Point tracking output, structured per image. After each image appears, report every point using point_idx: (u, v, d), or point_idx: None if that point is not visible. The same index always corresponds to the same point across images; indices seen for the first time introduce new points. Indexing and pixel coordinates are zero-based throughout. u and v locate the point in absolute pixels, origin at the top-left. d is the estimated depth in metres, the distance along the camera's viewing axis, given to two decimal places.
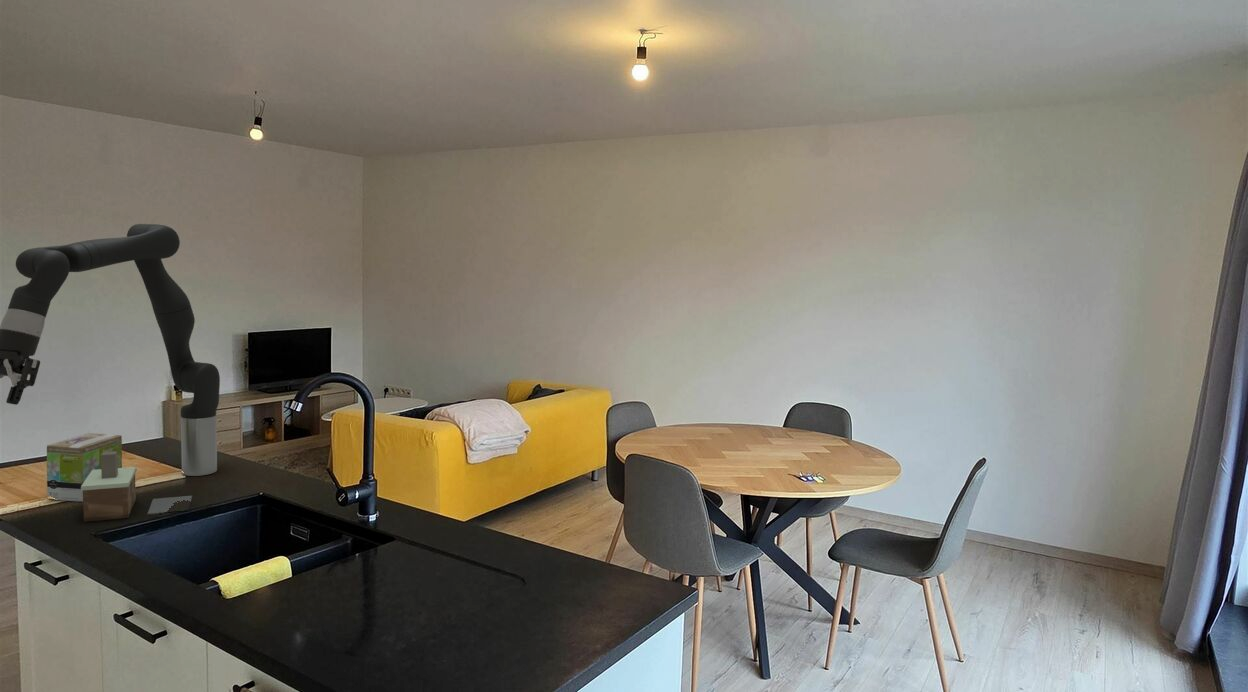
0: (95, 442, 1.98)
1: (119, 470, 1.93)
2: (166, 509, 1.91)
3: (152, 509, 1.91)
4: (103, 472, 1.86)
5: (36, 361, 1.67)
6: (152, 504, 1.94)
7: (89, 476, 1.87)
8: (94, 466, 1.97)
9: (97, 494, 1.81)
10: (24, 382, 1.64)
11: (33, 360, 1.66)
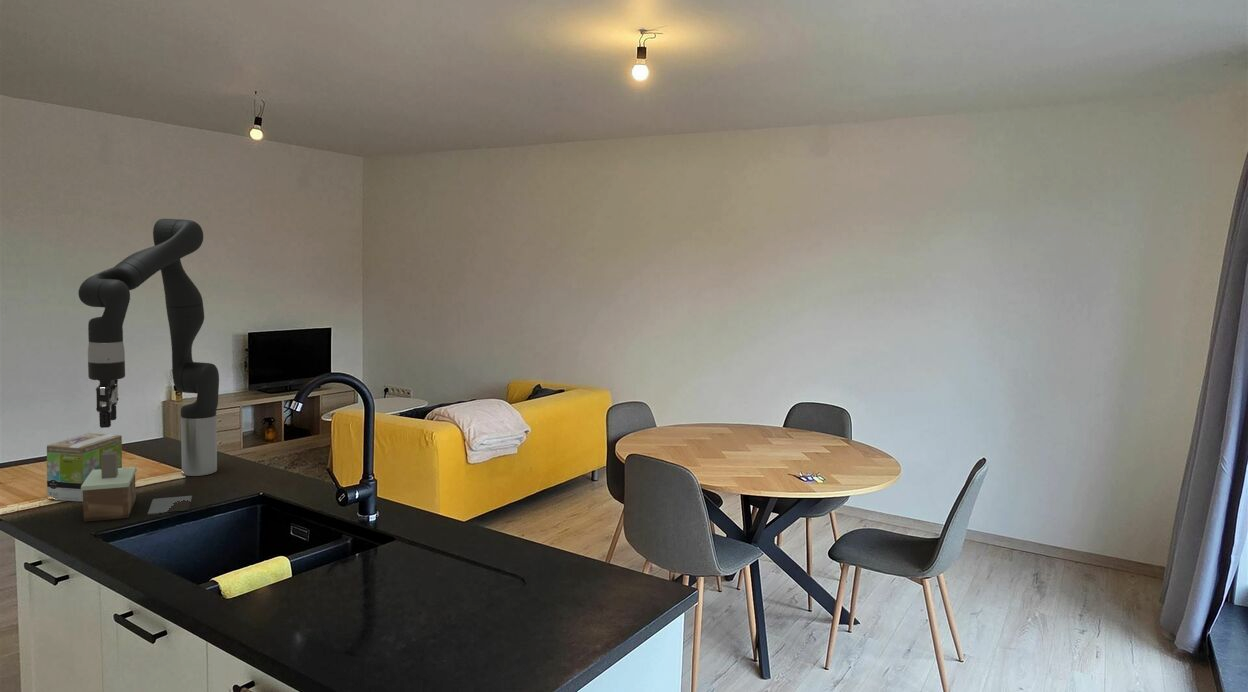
0: (95, 442, 1.98)
1: (119, 470, 1.93)
2: (166, 509, 1.91)
3: (152, 509, 1.91)
4: (103, 472, 1.86)
5: (105, 388, 1.80)
6: (152, 504, 1.94)
7: (89, 476, 1.87)
8: (94, 466, 1.97)
9: (97, 494, 1.81)
10: (97, 410, 1.79)
11: (100, 388, 1.79)
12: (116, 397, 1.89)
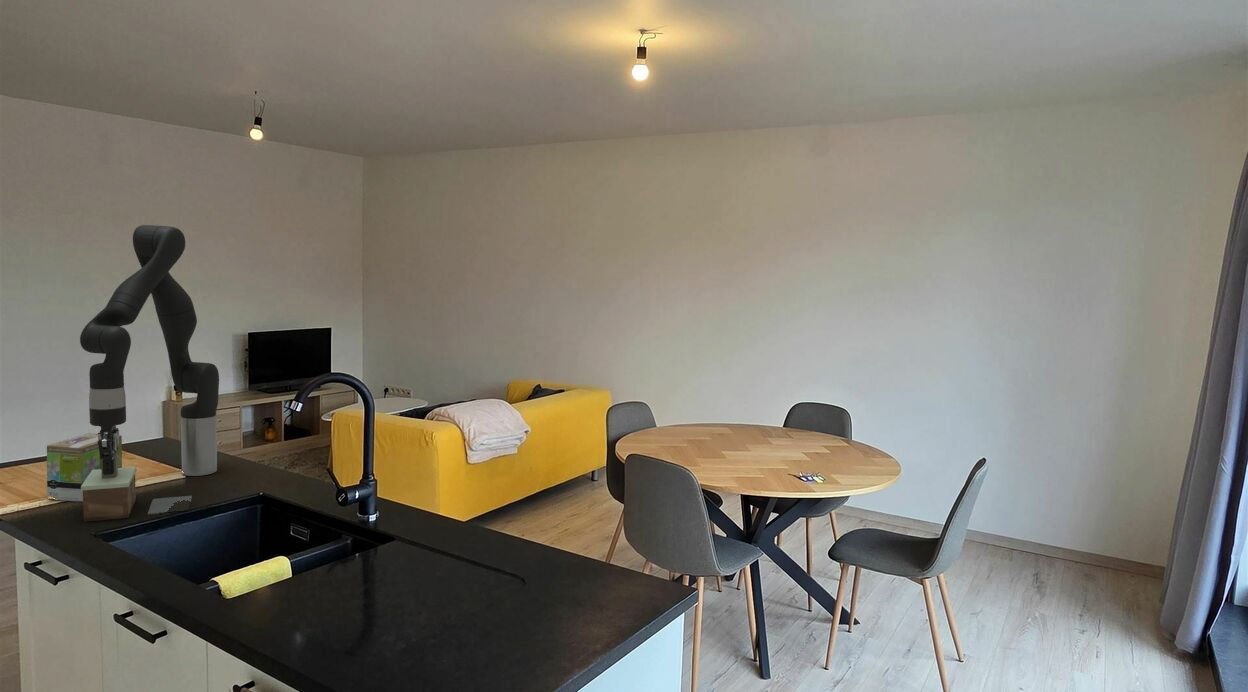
0: (95, 442, 1.98)
1: (119, 470, 1.93)
2: (166, 509, 1.91)
3: (152, 509, 1.91)
4: None
5: (106, 441, 1.81)
6: (152, 504, 1.94)
7: (89, 476, 1.87)
8: (94, 466, 1.97)
9: (97, 494, 1.81)
10: (101, 458, 1.83)
11: (102, 442, 1.81)
12: (116, 444, 1.89)
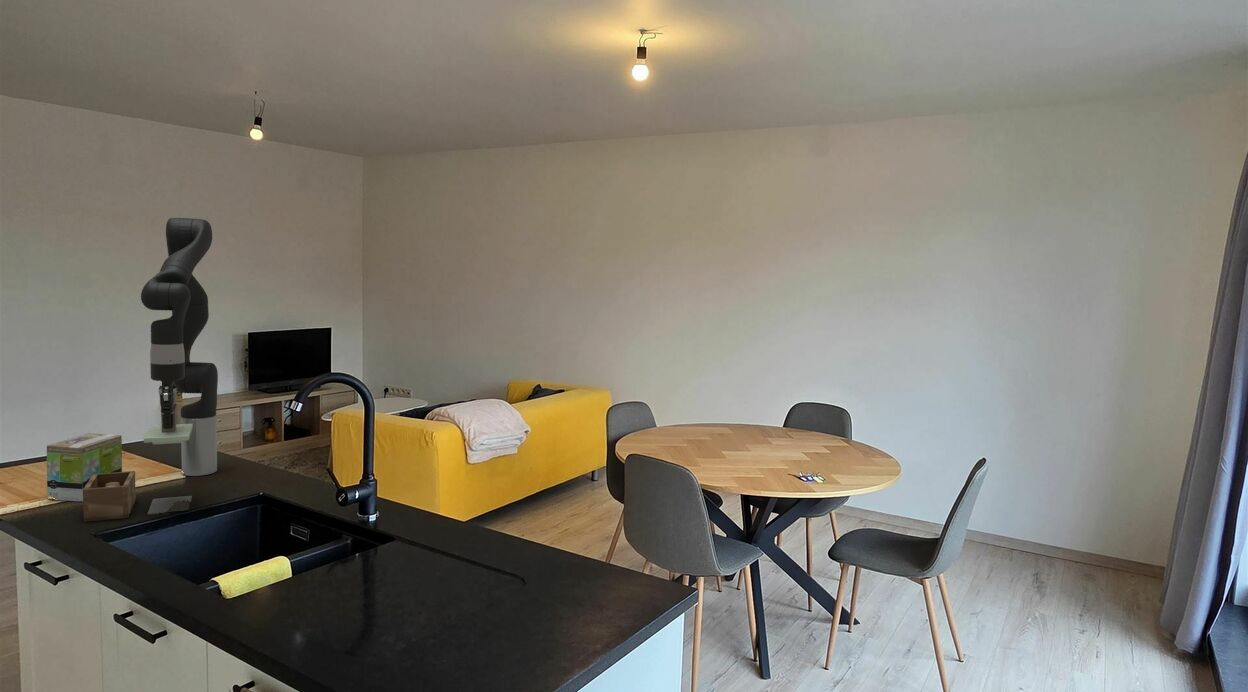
0: (95, 442, 1.98)
1: (177, 426, 1.98)
2: (166, 509, 1.91)
3: (152, 509, 1.91)
4: None
5: (168, 395, 1.86)
6: (152, 504, 1.94)
7: (149, 430, 1.92)
8: (94, 466, 1.97)
9: (97, 494, 1.81)
10: (162, 412, 1.87)
11: (163, 395, 1.85)
12: (175, 399, 1.93)
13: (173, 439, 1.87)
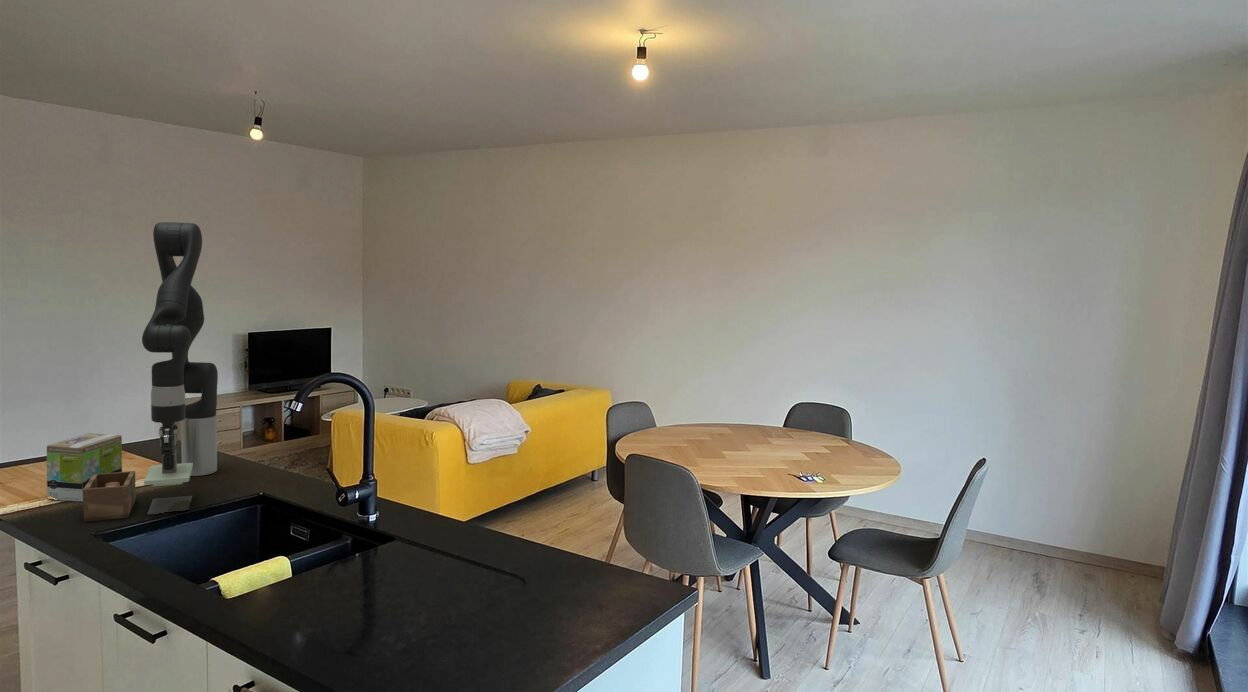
0: (95, 442, 1.98)
1: (177, 466, 1.99)
2: (166, 509, 1.91)
3: (152, 509, 1.91)
4: (163, 467, 1.92)
5: (168, 437, 1.87)
6: (152, 504, 1.94)
7: (150, 471, 1.93)
8: (94, 466, 1.97)
9: (97, 494, 1.81)
10: (162, 453, 1.89)
11: (164, 438, 1.87)
12: (176, 440, 1.95)
13: (173, 481, 1.88)
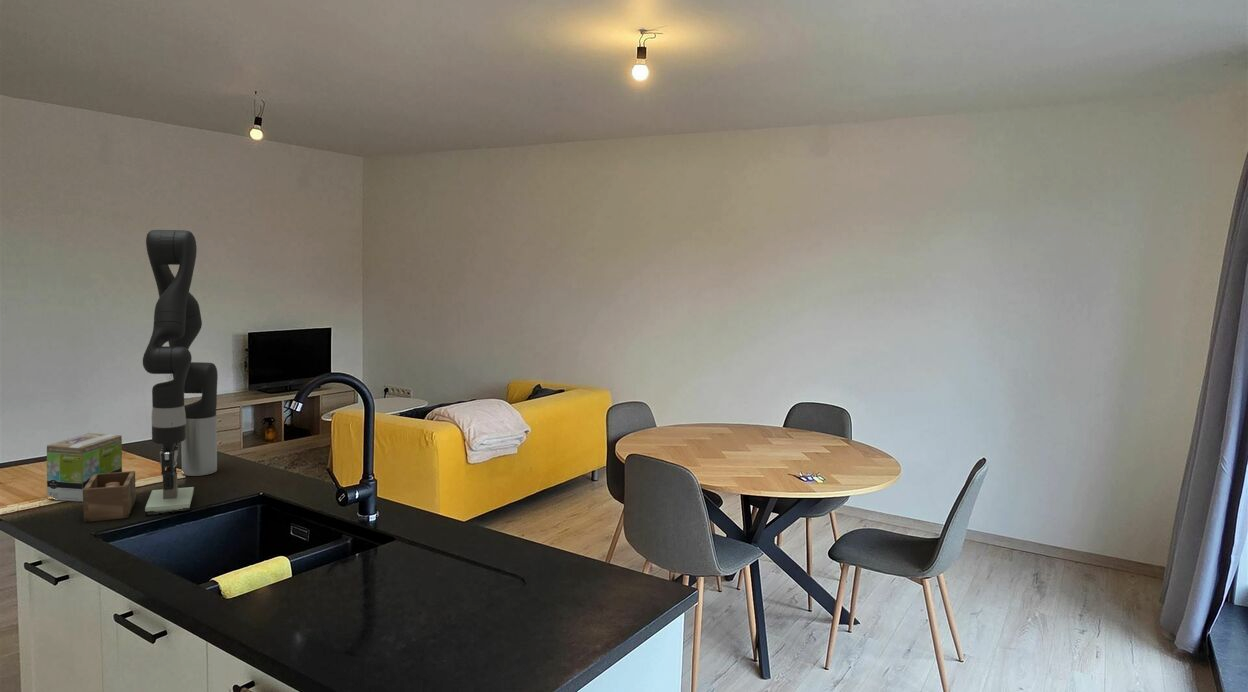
0: (95, 442, 1.98)
1: (178, 490, 2.00)
2: None
3: None
4: (164, 493, 1.93)
5: (169, 453, 1.87)
6: None
7: (151, 497, 1.94)
8: (94, 466, 1.97)
9: (97, 494, 1.81)
10: (162, 474, 1.87)
11: (165, 454, 1.87)
12: (177, 458, 1.96)
13: (174, 507, 1.89)
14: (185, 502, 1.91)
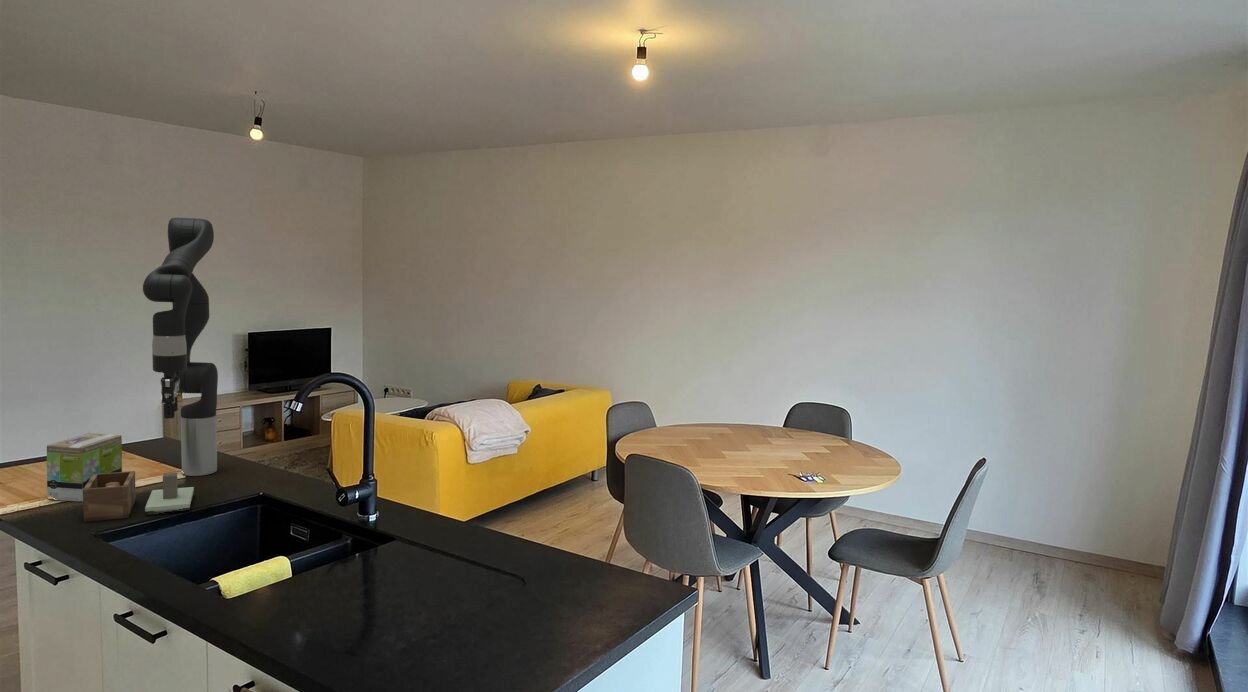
0: (95, 442, 1.98)
1: (178, 490, 2.00)
2: None
3: None
4: (164, 493, 1.93)
5: (169, 380, 1.86)
6: None
7: (151, 497, 1.94)
8: (94, 466, 1.97)
9: (97, 494, 1.81)
10: (163, 401, 1.85)
11: (165, 380, 1.85)
12: (178, 389, 1.95)
13: (174, 507, 1.89)
14: (185, 502, 1.91)
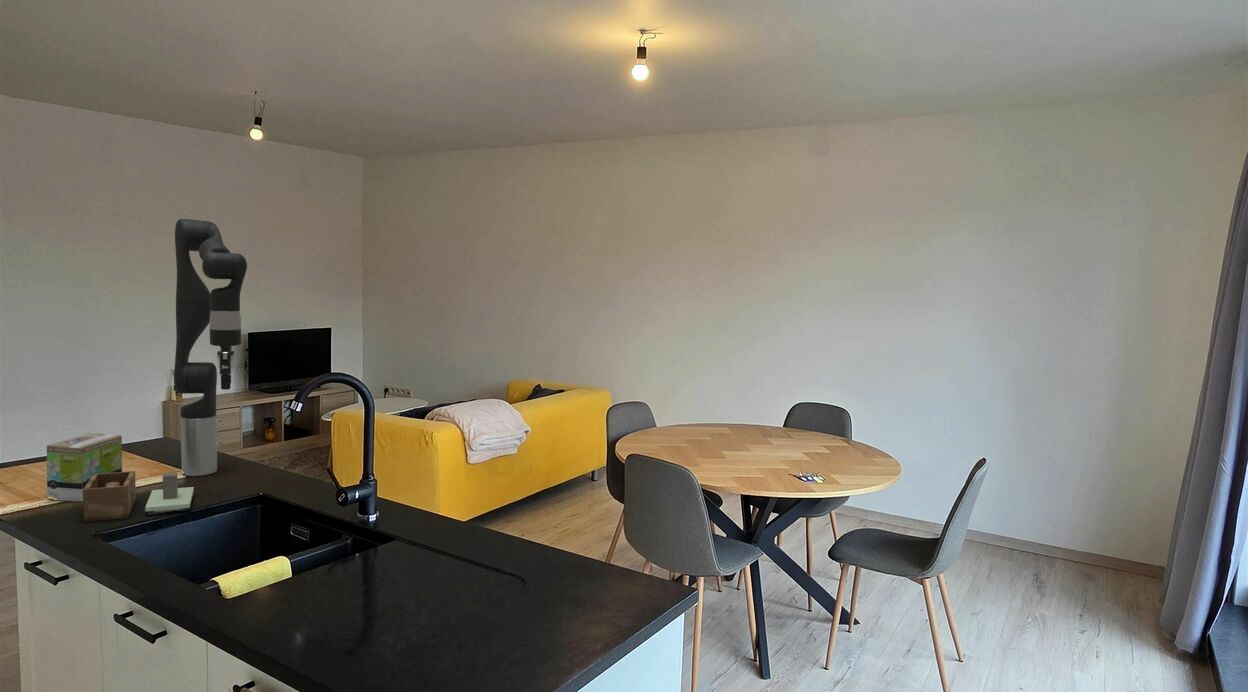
0: (95, 442, 1.98)
1: (178, 490, 2.00)
2: None
3: None
4: (164, 493, 1.93)
5: (227, 352, 1.96)
6: None
7: (151, 497, 1.94)
8: (94, 466, 1.97)
9: (97, 494, 1.81)
10: (220, 372, 1.95)
11: (223, 353, 1.95)
12: None
13: (174, 507, 1.89)
14: (185, 502, 1.91)
